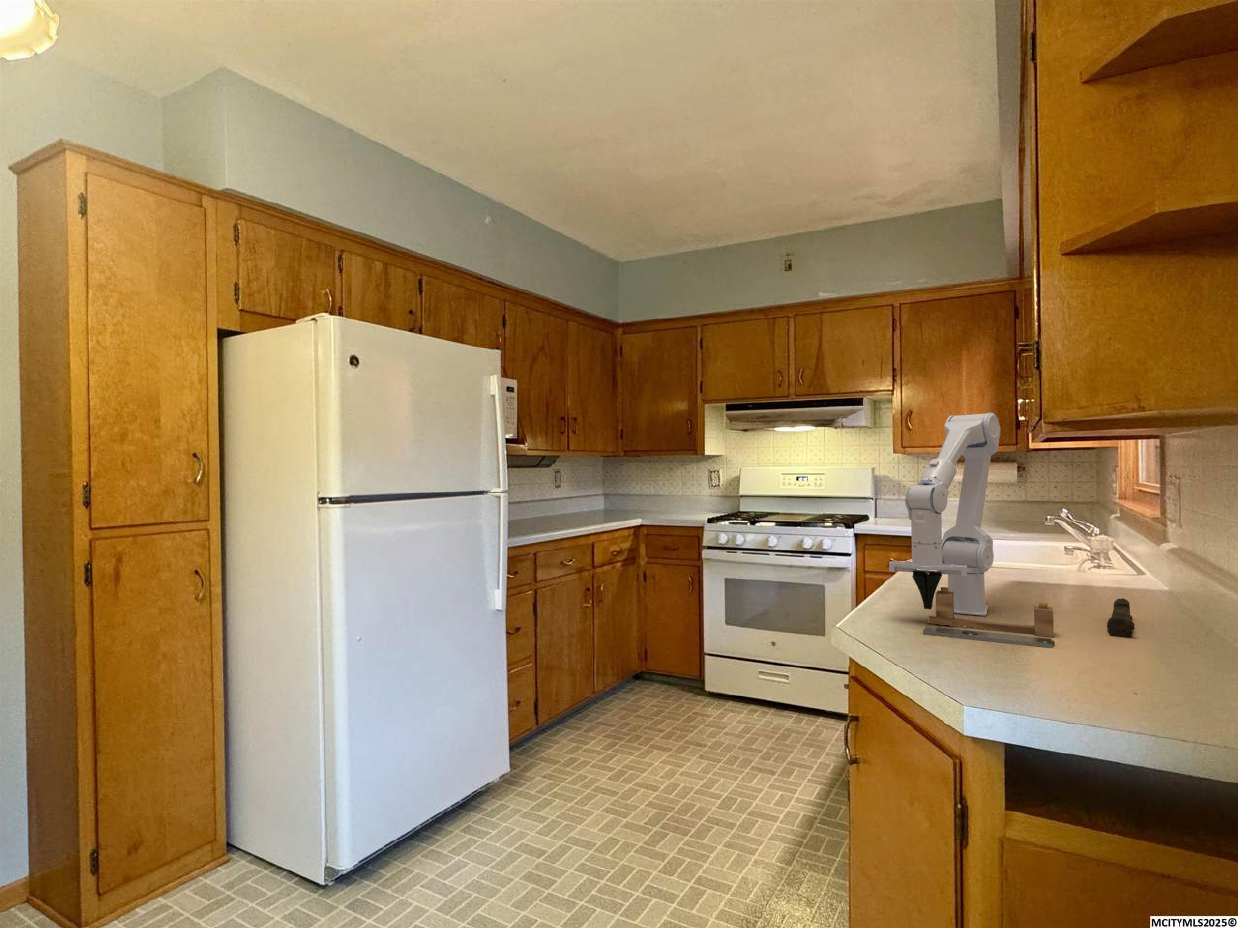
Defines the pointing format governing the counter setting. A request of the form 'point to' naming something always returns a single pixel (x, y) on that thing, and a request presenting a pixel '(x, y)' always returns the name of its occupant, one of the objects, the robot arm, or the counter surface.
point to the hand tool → (1121, 620)
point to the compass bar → (1040, 628)
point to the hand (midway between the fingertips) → (928, 608)
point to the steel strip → (990, 636)
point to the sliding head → (944, 607)
